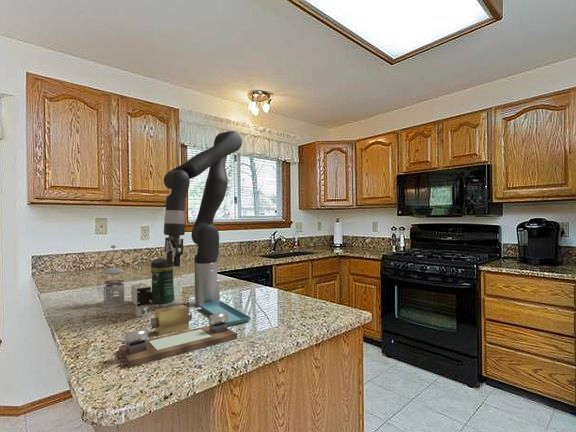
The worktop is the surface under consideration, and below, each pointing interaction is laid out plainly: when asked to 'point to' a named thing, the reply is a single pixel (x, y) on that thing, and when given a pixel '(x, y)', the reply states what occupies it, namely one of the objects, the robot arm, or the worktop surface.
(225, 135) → the robot arm
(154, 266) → the coffee jar
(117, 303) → the french press
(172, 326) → the coupling block
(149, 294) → the pneumatic valve
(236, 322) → the rectangular tray
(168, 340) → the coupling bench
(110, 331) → the worktop surface
